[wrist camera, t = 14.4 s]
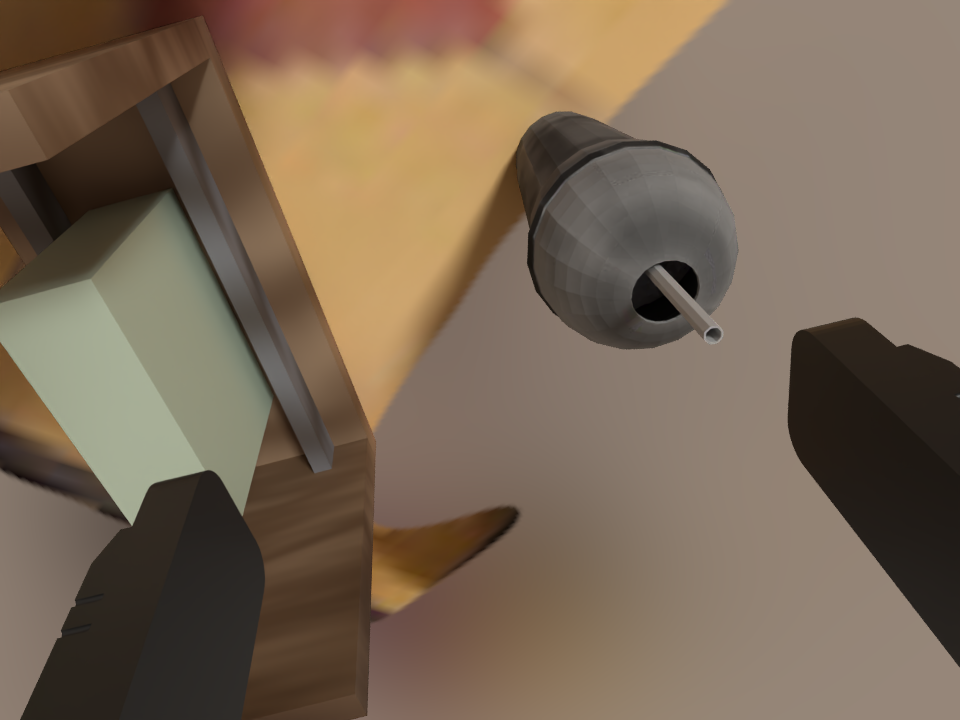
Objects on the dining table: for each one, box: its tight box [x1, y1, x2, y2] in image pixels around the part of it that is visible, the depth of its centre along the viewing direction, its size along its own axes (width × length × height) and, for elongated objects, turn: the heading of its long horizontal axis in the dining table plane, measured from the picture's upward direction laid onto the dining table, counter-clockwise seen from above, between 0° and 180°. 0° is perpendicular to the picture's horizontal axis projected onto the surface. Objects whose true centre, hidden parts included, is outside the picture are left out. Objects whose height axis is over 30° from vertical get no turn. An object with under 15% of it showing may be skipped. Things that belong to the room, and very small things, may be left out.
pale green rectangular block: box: [0, 188, 274, 525], centre depth 30 cm, size 12×4×10 cm, turn 13°
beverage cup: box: [516, 112, 738, 349], centre depth 26 cm, size 7×7×20 cm
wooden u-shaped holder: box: [0, 15, 376, 720], centre depth 28 cm, size 24×12×18 cm, turn 13°
